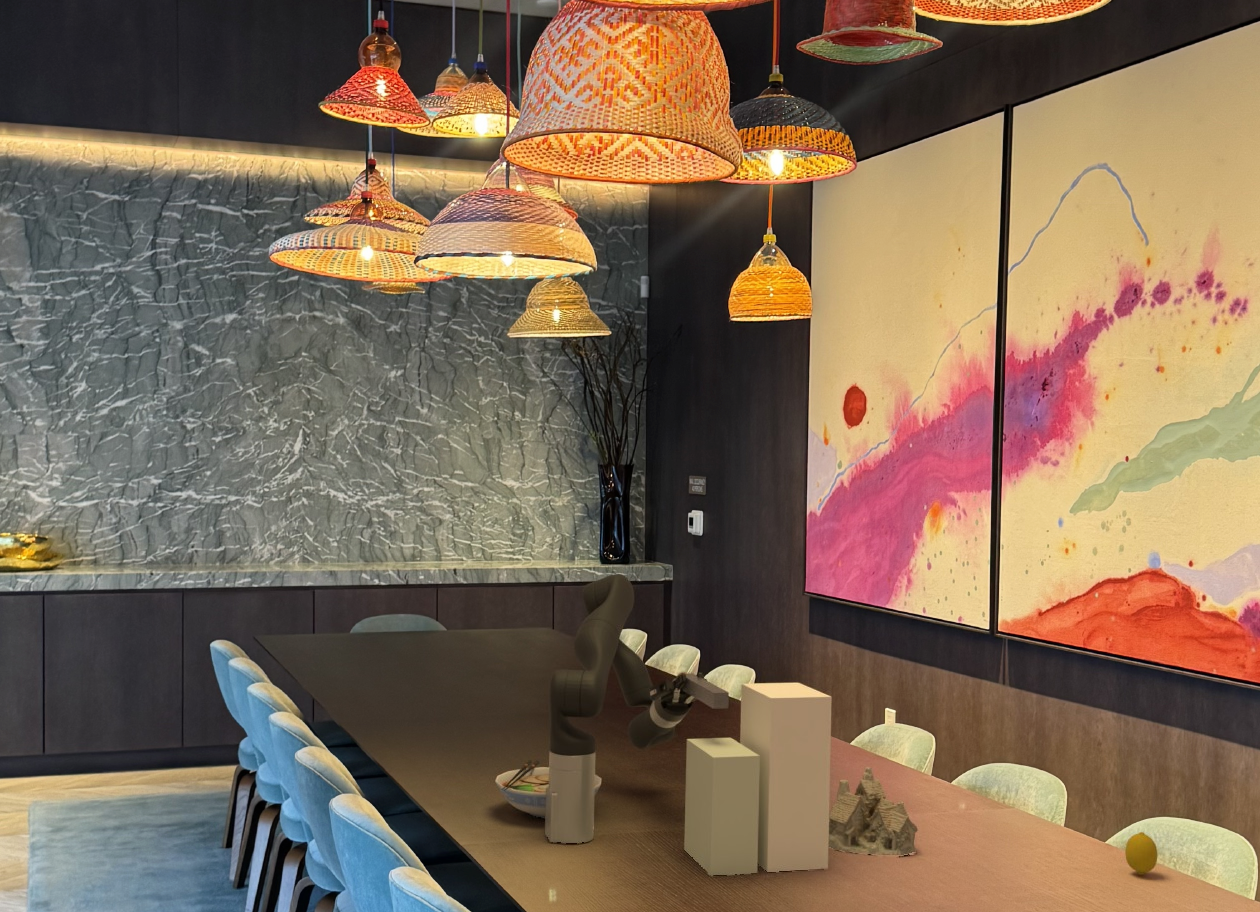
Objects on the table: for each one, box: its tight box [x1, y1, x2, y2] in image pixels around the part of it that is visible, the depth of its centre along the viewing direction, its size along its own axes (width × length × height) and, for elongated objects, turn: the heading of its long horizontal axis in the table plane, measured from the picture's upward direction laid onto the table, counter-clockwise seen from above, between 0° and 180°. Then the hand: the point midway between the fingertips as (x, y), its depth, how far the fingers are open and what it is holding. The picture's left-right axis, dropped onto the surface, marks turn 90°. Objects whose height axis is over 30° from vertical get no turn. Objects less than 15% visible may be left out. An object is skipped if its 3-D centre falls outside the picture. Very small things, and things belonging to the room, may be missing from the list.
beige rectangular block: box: [683, 737, 760, 877], centre depth 234 cm, size 9×16×22 cm, turn 15°
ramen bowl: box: [494, 759, 602, 819], centre depth 264 cm, size 25×23×8 cm
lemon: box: [1124, 831, 1158, 876], centre depth 232 cm, size 6×6×8 cm
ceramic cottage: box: [828, 766, 919, 855], centre depth 245 cm, size 16×16×15 cm
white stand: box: [739, 682, 833, 873], centre depth 237 cm, size 12×16×32 cm
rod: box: [676, 671, 730, 710], centre depth 247 cm, size 3×24×3 cm, turn 15°
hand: (692, 677), depth 253 cm, fingers closed on rod, 3 cm apart
